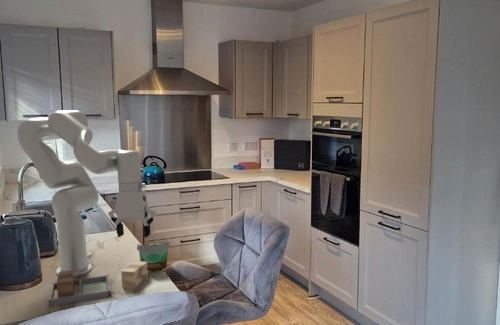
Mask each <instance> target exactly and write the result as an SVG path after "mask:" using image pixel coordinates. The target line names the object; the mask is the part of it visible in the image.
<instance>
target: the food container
mask: <svg viewBox="0 0 500 325" xmlns="http://www.w3.org/2000/svg"><path fill="white" fill-rule="evenodd" d="M168 239H169V238H168ZM168 239H167V241H163V242H151V243H148V244H142V245H141V244H139V243H137V244H136V250H137V251H138V254H139V261H141V262H147V263H148V272H152V273H153V272H159V271H162V270H165V269H166V268H167V266H168V252H169V250H168V249H169V247H171V246H170V242H169V240H168Z"/></svg>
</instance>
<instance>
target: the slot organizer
mask: <svg viewBox="0 0 500 325" xmlns="http://www.w3.org/2000/svg"><path fill="white" fill-rule="evenodd" d="M104 297H106V298H107V297H112V293H111V283H110V277H109V274H106V275H101V276H92V277H85V278H76V279H74V295H73V296H67V297H60V298H58V290H57V281H56V282H51V285H50V291H49V296H48V306H55V305H61V304H68V303H75V302H81V301H87V300H93V299H98V298H104Z"/></svg>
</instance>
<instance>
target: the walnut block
mask: <svg viewBox="0 0 500 325" xmlns="http://www.w3.org/2000/svg"><path fill="white" fill-rule="evenodd" d="M74 278H75V276H73V270H71V271H63V272H59V273H58V275H57V280H56V282H57V290H58V298H60V297H67V296H73V295H74V280H75V279H74Z"/></svg>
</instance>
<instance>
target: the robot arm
mask: <svg viewBox="0 0 500 325" xmlns="http://www.w3.org/2000/svg"><path fill="white" fill-rule="evenodd" d="M88 126H89V120H88V117H87V116H86V114H85V113H83V111H81V110H76V109H71V110H69V109H68V110H57V111H54V112H52V113H50V115H49V116H47V117H33V118H28V119H24V120H23V121H22V122H20V124H19V125H18V127H17V139H18V143H19V145H20V147H21V149H22V150H23V152H24V153H25V155H26V156H27V157H28V158H29V159H30V160H31V163H32V164H33V165H34V168H35V169H36V171H37V173H38V174H39V176H40V178H41V180H42V181H43V183H44V184H45V186H46V187H47V188H48V189H50V190H57V189H60V190H58V191H56V192H55V193H54V194H53V196H52V198H51V206H52V209H53V213H54V216H55V221H56V222H55V223H56V231H57V243H58V244H57V245H58V255H59V266H58V268H56V270H55V273H56V276H58V273H59V272H63V271H71V270H73V277H77V276H78V277H79V276H81V275H82V276H83V275H85V274H87V273H89V272H91V271H92V270H93V265H92V264H91V263H90V262H89V260H90V259H92V258H93V254H92V253H90V252H89V253H88V254H87V252H88V251H87V242H86V240H87V239H86V226H85V225H86V224H85V222H84V219H83V218H82V216H81V215H80V212H82V211H85V210H88V209H89V210H90V209H92V208H93V207H95V206H96V205H97V204H98V202H99V192H98V189H97V188H96V185H95V184H94V182H93V180H92V179H91V178H90V175H89V174H88V172H87V170H88V171H89V172H90V173H92V174H96V175H103V174H107V173H111V172H112V173H113V172H117V180H118V181H117V182H118V191H117V194H116V200H115V203H116V204H115V208H114V209H112V210H110V211H109V212H107V214H108V216H109V218H110V220H111V222H112V223H113V224H114V226H115V229H116V234H117V238H120V237H123V235H124V234H125V231H124V224H123V222H124V221H128V222H129V221H130V222H131V221H132V222H133V221H139V222H140V221H141V222H142V223H143V224H144V225H143V238H145V239H146V238H148V237H149V236H150V235H151V234H152V232H151V224H152V223H153V222H154V221H155V218H156V216H157V214H158V213H157V211H155V210H153V209H151V208H149V205H148V204H149V203H148V198H147V194H146V191H145V189H143V188H146V184H145V183H143V181H142V169H141V155H140V152H139V151H137V150H135V149H134V150H132V149H130V150H129V149H128V150H127V149H125V150H123V149H119V148H114V149H113V148H112V149H107V150H100V151H97V150H95V149H94V148H92V147H91V146H90V144H91V143H92V141H93V136H94V135H93V134H94V133H93V131H92V130H91V129H90V128H89V127H88ZM59 139H62V141H64V142H66V143H67V144H68V145H69V146H71V147H72V150H73V154H74V157H75V161H74V160H67V161H61V160H60V158H59V157H58V156H57V154H56V152H55V151H54V149H53V148H52V147H50V146H49V145H48V144H46V143H45V142H44V141H51V140H59ZM115 213H116V215H115ZM149 216H150V217H149Z"/></svg>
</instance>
